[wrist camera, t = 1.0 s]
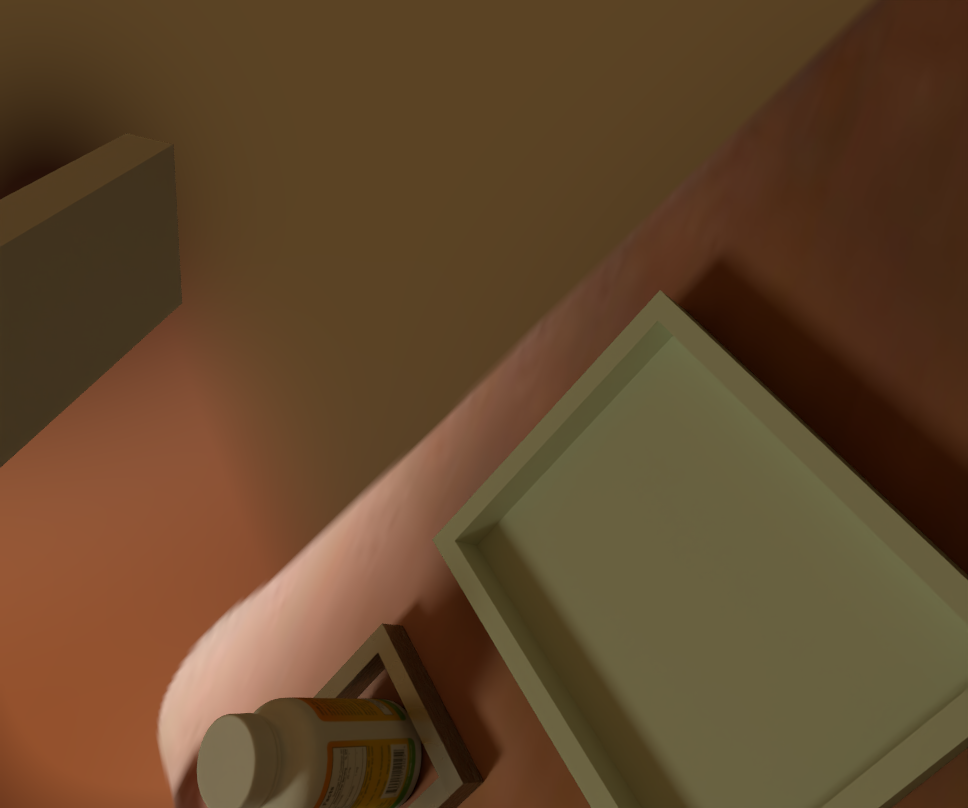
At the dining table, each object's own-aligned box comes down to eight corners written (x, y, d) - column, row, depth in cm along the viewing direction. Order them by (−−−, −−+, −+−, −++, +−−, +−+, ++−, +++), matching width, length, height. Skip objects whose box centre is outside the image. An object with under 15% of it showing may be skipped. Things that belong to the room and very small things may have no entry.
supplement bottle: (335, 730, 46) (176, 733, 39) (403, 678, 45) (249, 672, 37) (365, 833, 43) (198, 858, 36) (439, 783, 42) (279, 798, 34)
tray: (685, 309, 40) (660, 290, 38) (1067, 668, 28) (1058, 665, 26) (464, 546, 44) (432, 539, 42) (712, 947, 32) (683, 962, 30)
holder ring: (402, 625, 46) (382, 623, 44) (483, 781, 40) (463, 783, 39) (301, 733, 48) (280, 733, 47) (365, 894, 42) (342, 899, 41)
